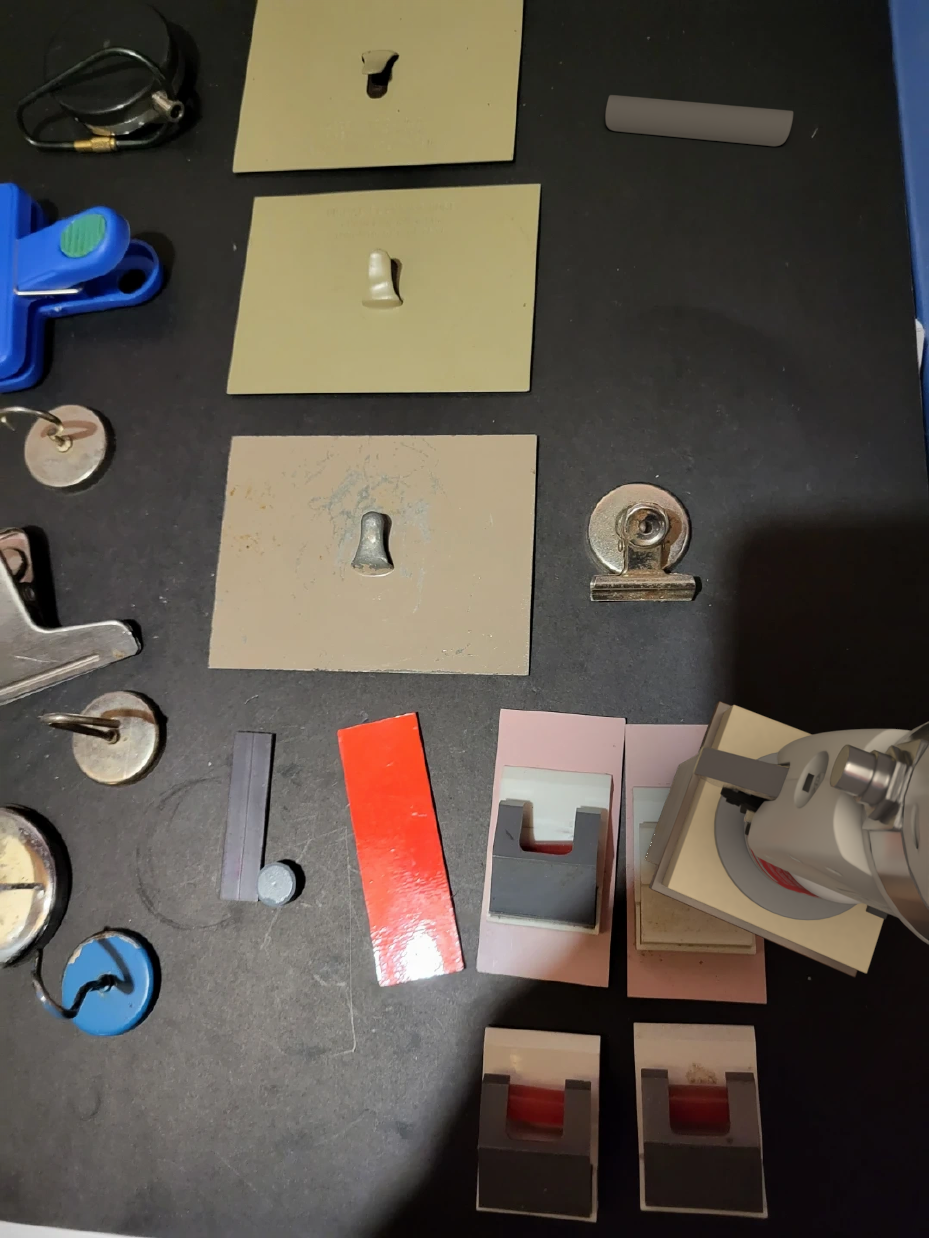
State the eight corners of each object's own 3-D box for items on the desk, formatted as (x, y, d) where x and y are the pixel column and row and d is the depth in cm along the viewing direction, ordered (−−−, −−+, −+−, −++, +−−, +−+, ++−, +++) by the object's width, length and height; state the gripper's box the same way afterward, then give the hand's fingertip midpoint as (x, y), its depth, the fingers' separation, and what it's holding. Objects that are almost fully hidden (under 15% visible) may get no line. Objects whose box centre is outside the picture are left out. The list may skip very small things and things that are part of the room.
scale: (907, 781, 51) (932, 778, 47) (849, 965, 49) (870, 975, 45) (724, 711, 53) (735, 702, 49) (661, 884, 51) (668, 888, 47)
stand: (799, 794, 77) (918, 776, 51) (754, 925, 75) (855, 977, 49) (668, 742, 79) (719, 700, 53) (622, 868, 77) (650, 888, 51)
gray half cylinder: (609, 99, 96) (610, 85, 94) (791, 115, 93) (795, 101, 91) (602, 131, 95) (603, 118, 93) (786, 148, 92) (790, 135, 90)
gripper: (675, 840, 25) (632, 835, 43) (1333, 1116, 22) (995, 989, 39) (759, 608, 27) (684, 695, 44) (1393, 835, 23) (1040, 832, 41)
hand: (832, 834), depth 41 cm, fingers closed on pill bottle, 6 cm apart
